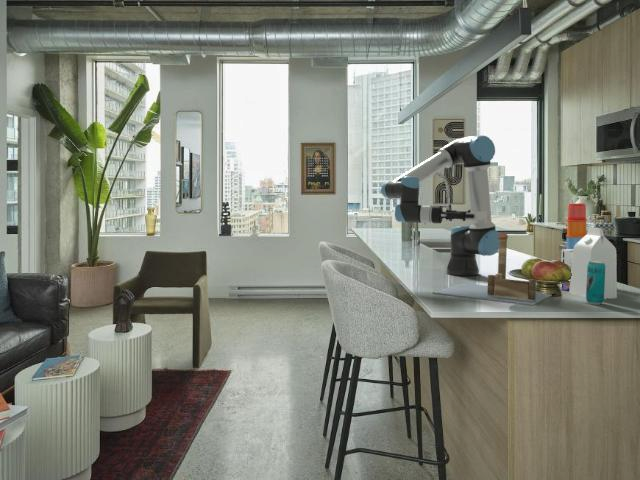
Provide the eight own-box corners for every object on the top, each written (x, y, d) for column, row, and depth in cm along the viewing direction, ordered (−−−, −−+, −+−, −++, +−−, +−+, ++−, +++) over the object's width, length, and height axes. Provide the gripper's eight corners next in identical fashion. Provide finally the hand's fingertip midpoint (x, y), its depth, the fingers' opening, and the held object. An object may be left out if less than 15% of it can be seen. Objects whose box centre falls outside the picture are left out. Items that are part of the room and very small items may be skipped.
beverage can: (582, 301, 198) (584, 260, 197) (597, 301, 199) (599, 260, 197) (591, 305, 192) (593, 262, 191) (607, 305, 193) (609, 262, 191)
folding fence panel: (496, 293, 209) (498, 234, 207) (487, 293, 211) (489, 234, 209) (507, 287, 222) (508, 232, 220) (498, 286, 224) (499, 232, 222)
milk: (616, 298, 205) (620, 228, 203) (588, 299, 204) (592, 229, 201) (595, 292, 217) (598, 226, 215) (569, 293, 215) (572, 227, 213)
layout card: (462, 283, 236) (462, 282, 236) (555, 294, 213) (555, 292, 213) (432, 293, 214) (432, 291, 214) (532, 305, 191) (532, 304, 191)
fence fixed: (488, 293, 210) (489, 274, 209) (536, 298, 199) (537, 279, 199) (486, 294, 208) (487, 275, 207) (534, 299, 197) (534, 280, 197)
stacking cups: (591, 285, 233) (595, 203, 230) (565, 284, 235) (568, 203, 232) (586, 281, 243) (590, 203, 240) (561, 280, 245) (564, 203, 242)
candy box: (596, 289, 223) (598, 249, 222) (599, 292, 218) (600, 251, 216) (559, 287, 228) (561, 248, 226) (561, 290, 222) (562, 249, 221)
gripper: (437, 221, 242) (487, 223, 234) (426, 224, 219) (481, 226, 211) (437, 204, 241) (488, 205, 233) (426, 206, 218) (481, 207, 210)
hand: (484, 215), depth 222 cm, fingers open, 13 cm apart
